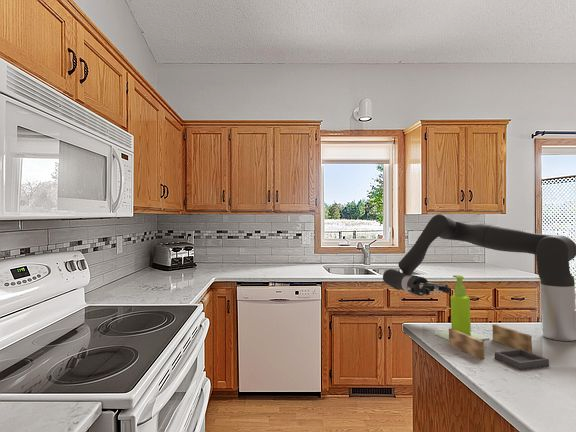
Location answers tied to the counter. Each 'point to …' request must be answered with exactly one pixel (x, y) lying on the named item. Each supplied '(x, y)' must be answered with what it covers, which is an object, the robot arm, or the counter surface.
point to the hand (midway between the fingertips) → (439, 291)
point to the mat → (446, 335)
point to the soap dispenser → (460, 308)
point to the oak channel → (499, 335)
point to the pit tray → (521, 359)
